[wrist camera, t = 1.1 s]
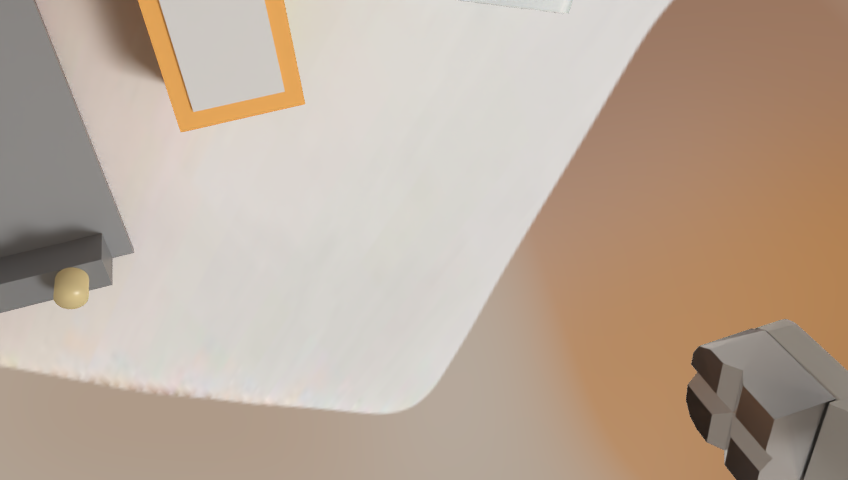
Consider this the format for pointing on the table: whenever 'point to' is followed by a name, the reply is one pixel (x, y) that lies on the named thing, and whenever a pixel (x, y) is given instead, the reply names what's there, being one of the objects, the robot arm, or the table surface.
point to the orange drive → (223, 58)
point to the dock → (48, 177)
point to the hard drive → (532, 4)
